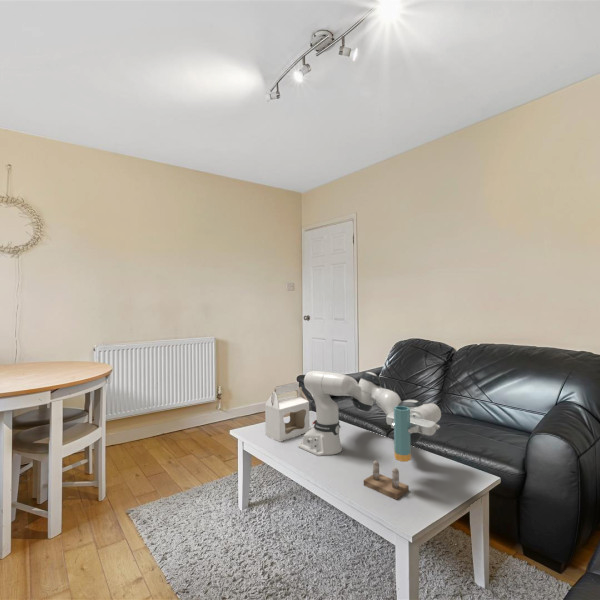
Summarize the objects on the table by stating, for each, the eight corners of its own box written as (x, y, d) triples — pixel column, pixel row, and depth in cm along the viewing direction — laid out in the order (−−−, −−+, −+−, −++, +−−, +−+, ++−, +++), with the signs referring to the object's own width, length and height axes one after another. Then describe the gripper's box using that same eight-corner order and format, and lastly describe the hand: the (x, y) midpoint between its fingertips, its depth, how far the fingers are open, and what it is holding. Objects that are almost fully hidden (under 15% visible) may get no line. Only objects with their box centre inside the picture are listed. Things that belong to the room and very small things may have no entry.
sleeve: (392, 458, 141) (391, 408, 141) (399, 453, 145) (399, 405, 145) (405, 462, 137) (404, 411, 137) (412, 458, 141) (412, 408, 141)
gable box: (295, 425, 213) (294, 379, 213) (310, 431, 203) (309, 383, 203) (265, 435, 198) (264, 385, 198) (279, 442, 188) (278, 389, 188)
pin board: (363, 485, 143) (363, 462, 143) (376, 477, 150) (376, 455, 150) (396, 499, 132) (395, 475, 132) (408, 490, 139) (408, 467, 139)
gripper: (442, 433, 142) (425, 444, 133) (396, 421, 157) (379, 430, 147) (441, 418, 142) (425, 427, 133) (396, 407, 157) (379, 415, 147)
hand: (400, 428), depth 140 cm, fingers closed on sleeve, 6 cm apart
